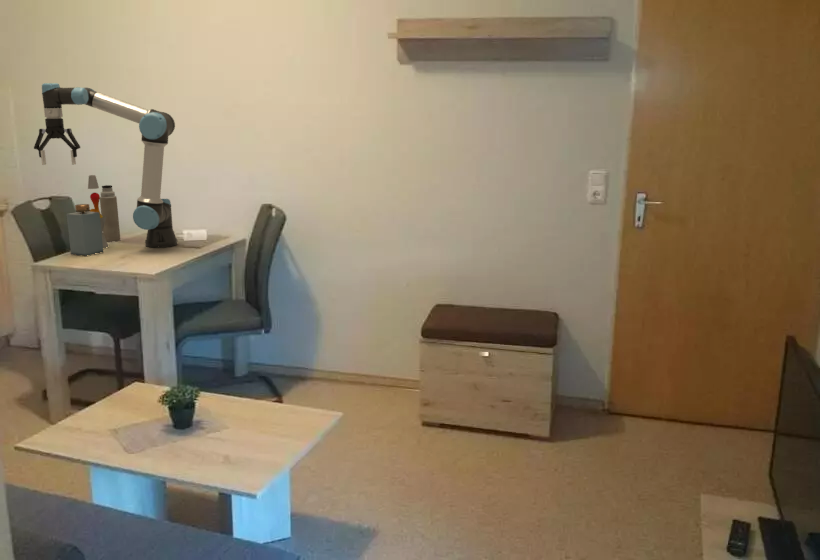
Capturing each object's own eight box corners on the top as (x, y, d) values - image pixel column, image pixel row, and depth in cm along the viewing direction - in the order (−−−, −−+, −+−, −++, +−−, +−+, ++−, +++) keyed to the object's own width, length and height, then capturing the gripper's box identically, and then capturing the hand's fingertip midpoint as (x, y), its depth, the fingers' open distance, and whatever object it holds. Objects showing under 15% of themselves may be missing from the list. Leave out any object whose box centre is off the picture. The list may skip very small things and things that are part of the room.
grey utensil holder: (103, 252, 363) (99, 212, 358) (85, 256, 354) (81, 215, 350) (88, 250, 367) (84, 211, 363) (70, 254, 359) (66, 213, 354)
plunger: (99, 249, 362) (94, 204, 357) (85, 252, 355) (81, 206, 350) (88, 248, 365) (83, 203, 360) (74, 251, 359) (69, 205, 354)
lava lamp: (113, 246, 378) (106, 174, 370) (102, 249, 369) (95, 176, 361) (96, 245, 380) (88, 174, 372) (85, 249, 371) (77, 176, 363)
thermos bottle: (108, 238, 397) (103, 184, 391) (123, 239, 396) (118, 184, 390) (100, 241, 389) (95, 186, 383) (116, 242, 389) (110, 186, 382)
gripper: (22, 118, 349) (28, 165, 354) (78, 117, 350) (83, 164, 355) (29, 117, 356) (35, 164, 361) (84, 117, 358) (89, 163, 362)
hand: (59, 164), depth 358 cm, fingers open, 13 cm apart
